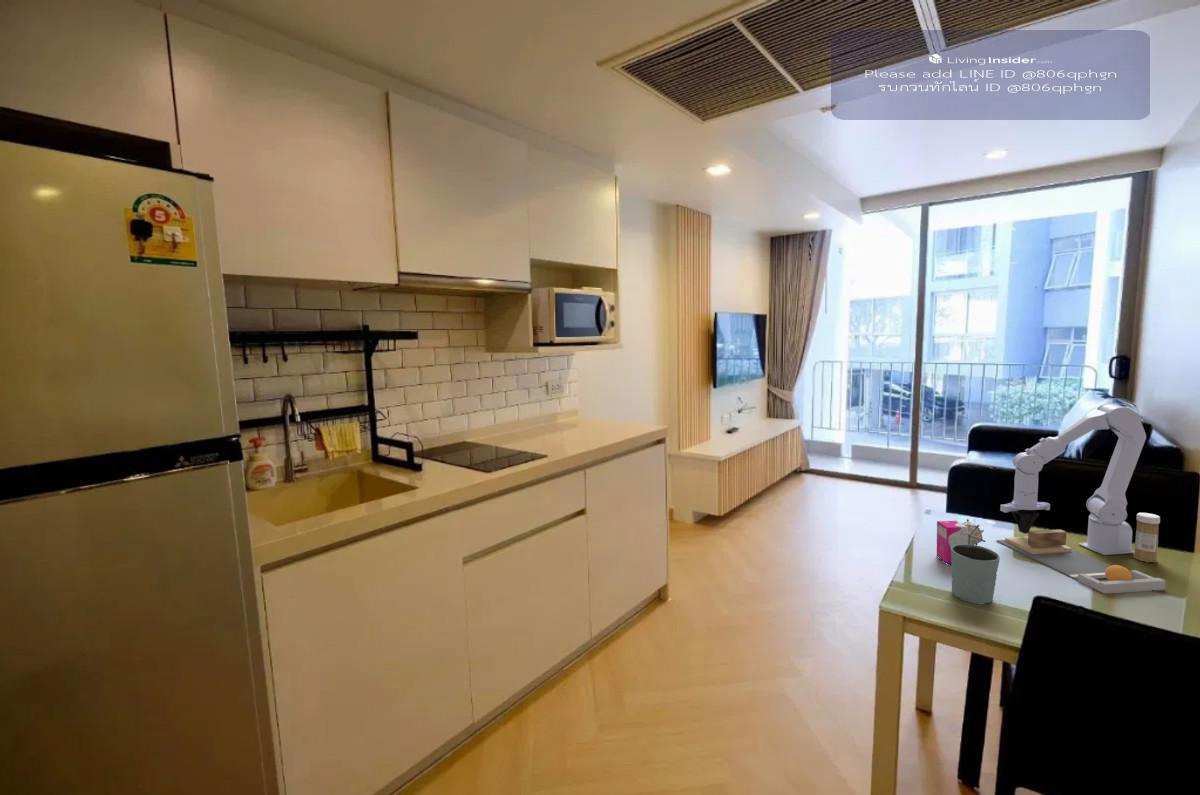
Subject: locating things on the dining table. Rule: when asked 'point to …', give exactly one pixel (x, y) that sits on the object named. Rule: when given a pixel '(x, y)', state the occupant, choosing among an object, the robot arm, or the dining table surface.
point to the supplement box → (949, 538)
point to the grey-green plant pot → (973, 572)
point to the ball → (1117, 573)
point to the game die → (973, 533)
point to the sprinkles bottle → (1147, 537)
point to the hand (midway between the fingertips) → (1023, 532)
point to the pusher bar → (1047, 538)
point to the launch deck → (1083, 567)
